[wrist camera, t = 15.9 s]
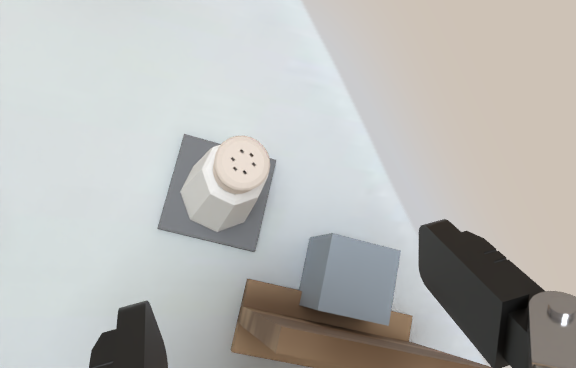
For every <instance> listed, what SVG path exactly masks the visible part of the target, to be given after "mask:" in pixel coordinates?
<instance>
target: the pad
mask: <svg viewBox="0 0 576 368" xmlns="http://www.w3.org/2000/svg"><path fill="white" fill-rule="evenodd" d="M217 145H221V144H218V143H214V142H211V141H207V140H204V139H200V138H197V137H193V136H190V135H186V134H184V137H183V140H182V144H181V148H180V151H179V155H178V158H177V162H176V165H175V169H174V172H173V176H172V179H171V183H170V186H169V190H168V193H167V197H166V200H165V204H164V207H163V211H162V215H161V218H160V222H159V225H158V229H161V230H165V231H170V232H174V233H178V234H182V235H186V236H190V237H195V238H199V239H203V240H207V241H211V242H216V243H220V244H224V245H228V246H232V247H237V248H241V249H245V250H249V251H253V252H254V251H255V249H256V245H257V241H258V236H259V232H260V228H261V223H262V219H263V215H264V210H265V206H266V202H267V197H268V193H269V189H270V184H271V180H272V176H273V172H274V167H275V163H276V160H274V159H271V158H270V169H269V173H268V178H267V180H266V182H265V184H264V186H263V188H262V191H261V193H260V195H259V197H258V199H257V201H256V203H255V205H254V206H253V208H252V210H251V211H250V213H249V215H248V217H247V218H246V220H245V222H244V223H241V224H238V225H235V226H233V227H230V228H227V229H224V230H221V231H219V232H216V231H213V230H211V229H209V228H207V227H205V226H203V225H201V224H198V223H196V222H194V221H192V220H190V218H189V215H188V213H187V210H186V207H185V204H184V201H183V198H182V195H181V193H180V191H181V189H182V187H183V185H184V183H185V181H186V179H187V178H188V176H189V174H190V172H191V170H192V168H193V166H194V165H195V164H196V163H197V162H198V161H199V160H200V159H201V158H202V157H203V156H204V155H205V154H206V153H207V152H208V151H209V150H210V149H211V148H212V147H215V146H217Z"/></svg>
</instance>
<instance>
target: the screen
mask: <svg viewBox="0 0 576 368" xmlns="http://www.w3.org/2000/svg"><path fill="white" fill-rule="evenodd" d="M301 294H302V291H300V290H295V289H291V288H286V287H282V286H278V285H273V284H269V283H264V282H260V281H255V280H251V279H247V282H246V286H245V290H244V294H243V299H242V303H241V307H240V312H239V316H238V320H237V325H236V329H235V333H234V337H233V342H232V346H231V351H232V352H234V353H239V354H244V355H250V356H255V357H260V358H265V359H271V360H276V361H281V362H286V363H292V364H297V365H302V366H308V367H313V368H492V367H489V366H486V365H483V364H480V363H476V362H473V361H470V360H467V359H463V358H460V357H457V356H454V355H451V354H447V353H444V352H441V351H438V350H435V349H431V348H428V347H425V346H422V345H418V344H415V343H412V342H409V336H410V329H411V322H412V316H411V315H406V314H402V313H397V312H393V311H391V315H390V321H389V326H387V325H383V324H378V323H373V322H369V321H364V320H360V319H355V318H350V317H346V316H341V315H337V314H332V313H327V312H323V311H318V310H315V309H311V308H308V307H304V306H301V305H299V304H300V299H301Z"/></svg>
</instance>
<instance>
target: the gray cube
mask: <svg viewBox="0 0 576 368" xmlns="http://www.w3.org/2000/svg"><path fill="white" fill-rule="evenodd" d="M400 252H401V251H400V250H396V249H392V248H388V247H384V246H380V245H376V244H372V243H369V242H365V241H361V240H357V239H353V238H349V237H345V236H341V235H337V234H333V233H332V234H327V235H321V236H316V237H311V238H310V240H309V245H308V250H307V254H306V259H305V264H304V269H303V274H302V279H301V284H300V288H299V290H300V291H302V294H301V299H300V304H299V305H301V306H304V307H308V308H311V309H315V310H318V311H323V312H327V313H332V314H337V315H341V316H346V317H350V318H355V319H360V320H364V321H369V322H373V323H378V324H383V325H387V326H389V321H390V315H391V308H392V302H393V296H394V290H395V283H396V277H397V271H398V265H399V258H400Z"/></svg>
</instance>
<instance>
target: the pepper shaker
mask: <svg viewBox="0 0 576 368" xmlns="http://www.w3.org/2000/svg"><path fill="white" fill-rule="evenodd" d="M269 169H270V158H269V155H268V153H267V151H266V149H265V148H264V146H263V145H262V144H261V143H260V142H258V141H257V140H255V139H253V138H251V137H247V136H235V137H231V138H229V139H227V140H226V141H224V142H223V143H222V144H221V145H217V146H215V147H212V148H211V149H210V150H209V151H208V152H207V153H206V154H205V155H204V156H203V157H202V158H201V159H200V160H199V161H198V162H197V163H196V164H195V165H194V166H193V168H192V170H191V172H190V174H189V176H188V178H187V179H186V181H185V183H184V185H183V187H182V189H181V191H180V193H181V195H182V198H183V201H184V204H185V207H186V210H187V213H188V215H189V218H190V220H192V221H194V222H196V223H198V224H201V225H203V226H205V227H207V228H209V229H211V230H213V231H216V232H219V231H221V230H224V229H227V228H230V227H233V226H235V225H238V224H241V223H244V222H245V220H246V218H247V217H248V215H249V213H250V211H251V210H252V208H253V206H254V205H255V203H256V201H257V199H258V197H259V195H260V193H261V191H262V188H263V186H264V184H265V182H266V180H267V178H268V173H269Z"/></svg>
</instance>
